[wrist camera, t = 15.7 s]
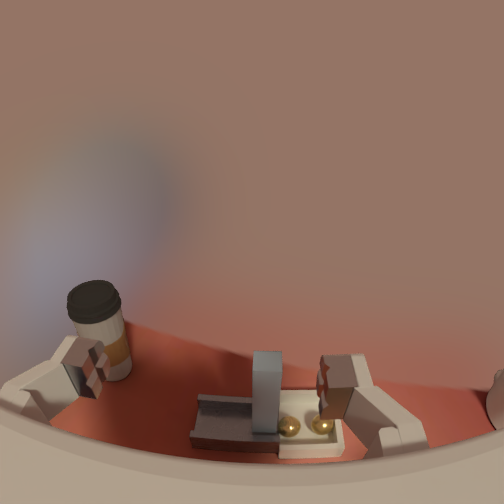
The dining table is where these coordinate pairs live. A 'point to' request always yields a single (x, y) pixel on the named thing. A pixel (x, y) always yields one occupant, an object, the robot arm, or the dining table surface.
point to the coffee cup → (102, 322)
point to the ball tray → (307, 428)
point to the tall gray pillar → (266, 391)
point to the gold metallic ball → (321, 425)
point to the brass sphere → (289, 426)
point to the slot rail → (229, 426)
